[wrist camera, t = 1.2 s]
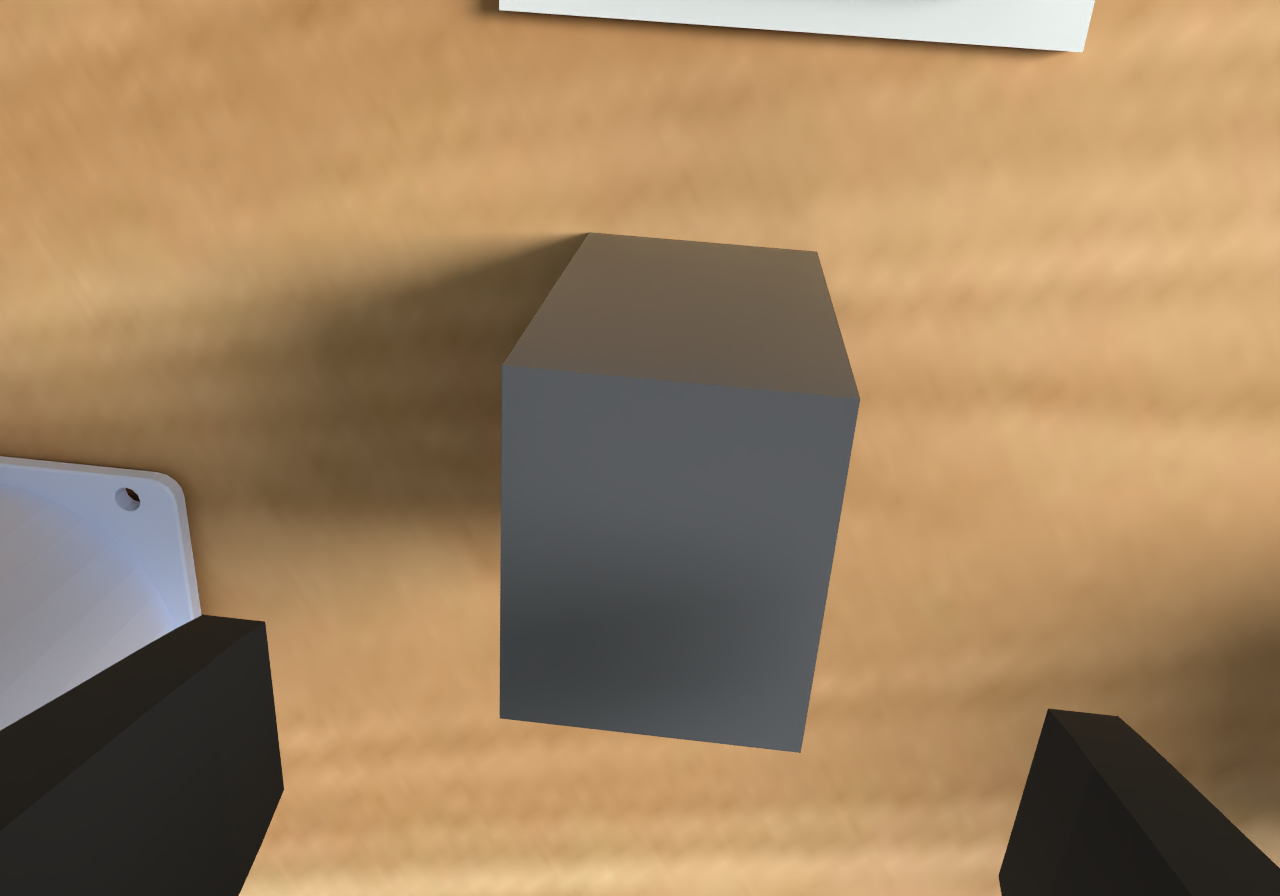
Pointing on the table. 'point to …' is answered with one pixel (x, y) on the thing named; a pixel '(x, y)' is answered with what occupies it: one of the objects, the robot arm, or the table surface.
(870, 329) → the table surface
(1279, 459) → the table surface
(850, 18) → the socket dock
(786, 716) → the plug
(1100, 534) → the table surface
